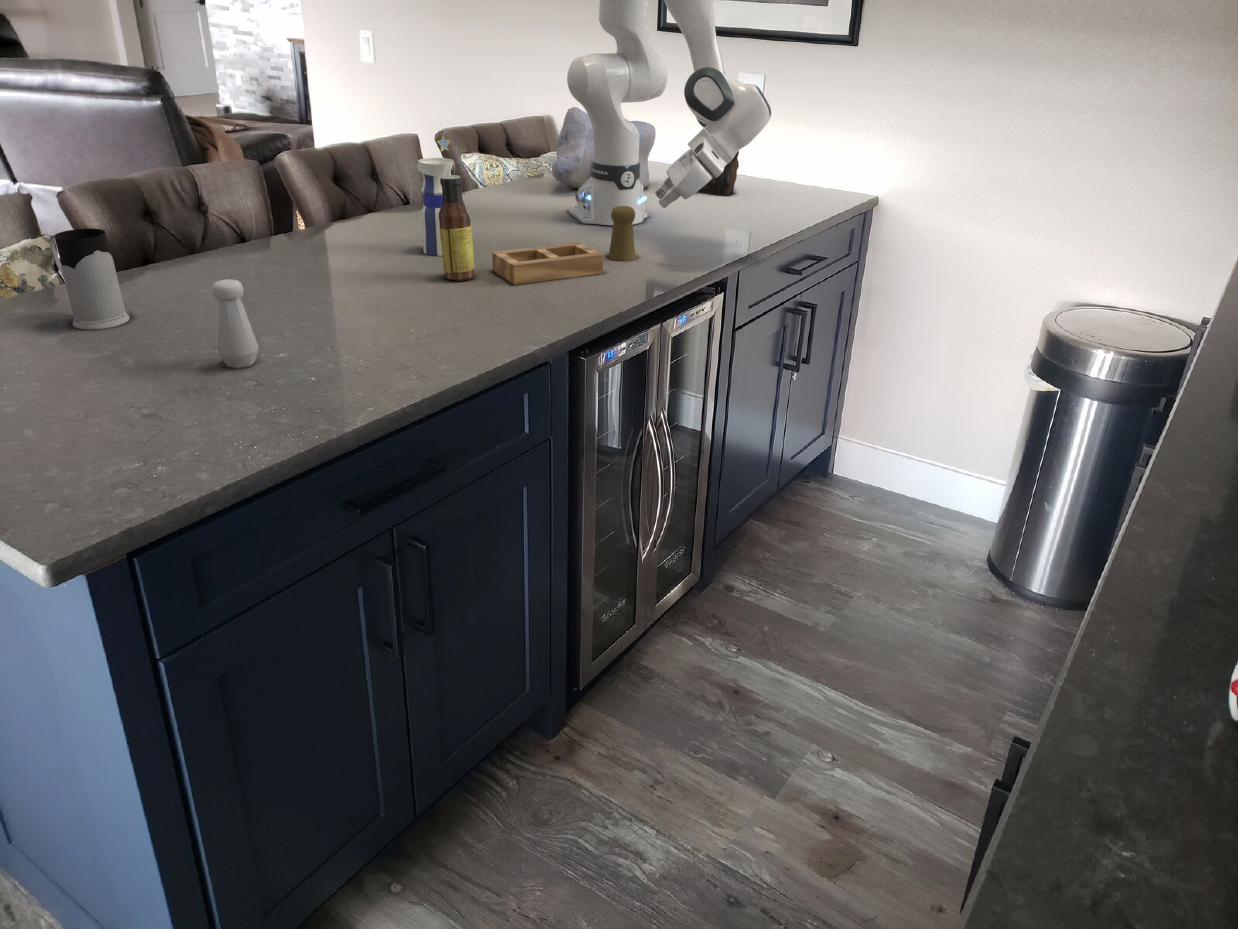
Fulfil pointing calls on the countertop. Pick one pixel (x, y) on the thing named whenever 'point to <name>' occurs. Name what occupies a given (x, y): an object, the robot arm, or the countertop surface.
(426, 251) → the blue tall piece
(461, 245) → the sauce bottle
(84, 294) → the glass holder
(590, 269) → the socket block
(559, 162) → the rock
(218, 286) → the salt shaker
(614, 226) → the olive green game pawn
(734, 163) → the rock
